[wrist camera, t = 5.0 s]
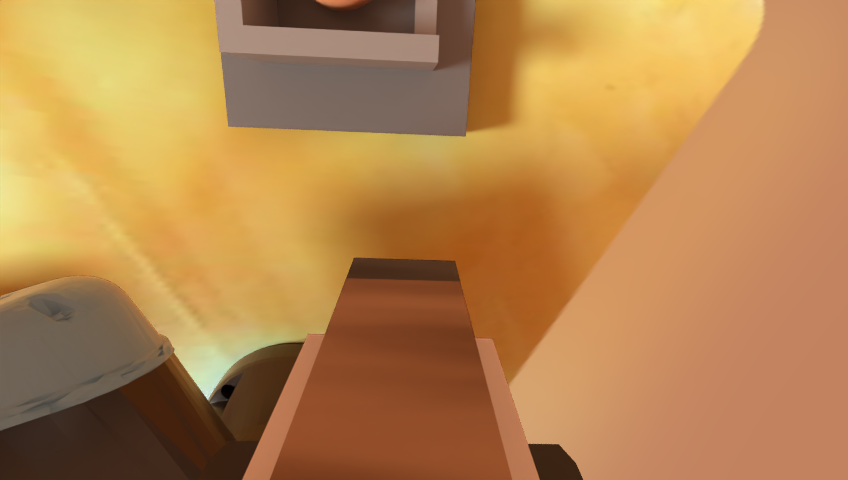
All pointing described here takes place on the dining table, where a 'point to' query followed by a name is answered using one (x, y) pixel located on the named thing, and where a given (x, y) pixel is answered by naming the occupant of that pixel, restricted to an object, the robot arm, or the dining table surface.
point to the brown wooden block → (396, 384)
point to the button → (342, 4)
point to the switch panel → (347, 65)
